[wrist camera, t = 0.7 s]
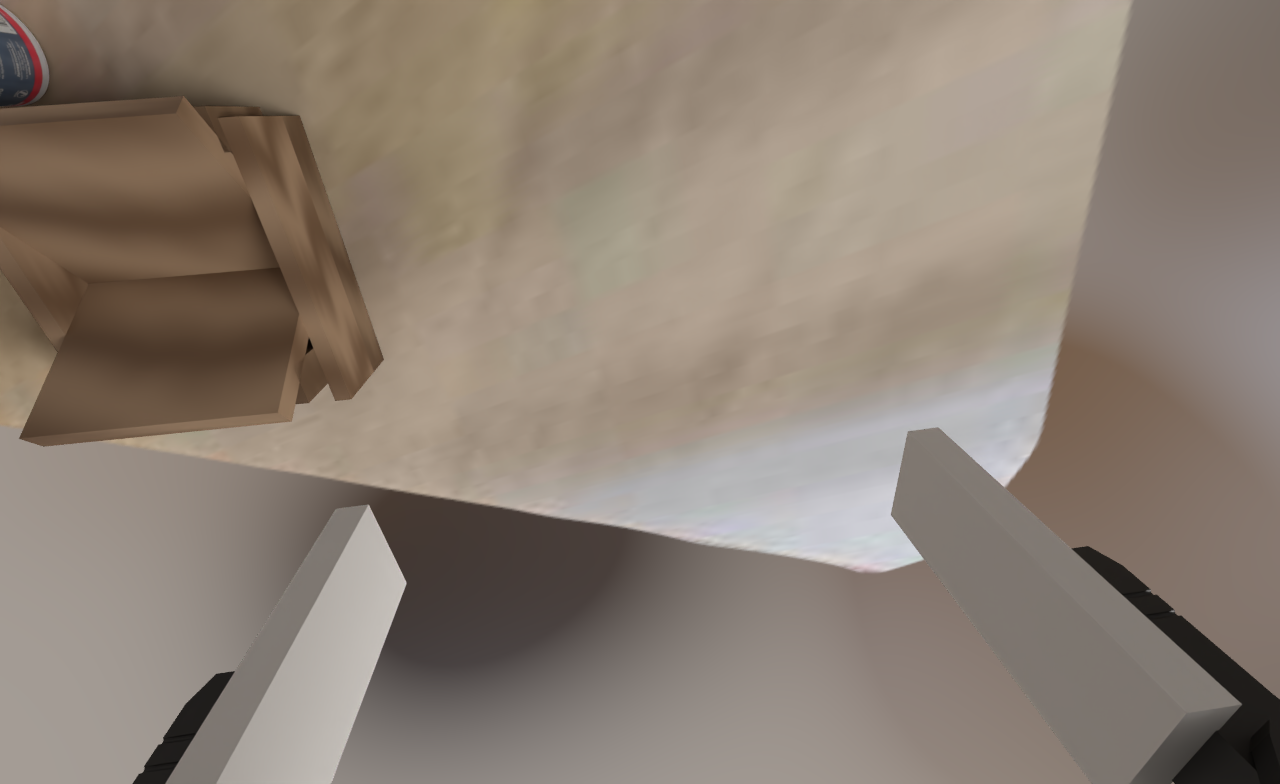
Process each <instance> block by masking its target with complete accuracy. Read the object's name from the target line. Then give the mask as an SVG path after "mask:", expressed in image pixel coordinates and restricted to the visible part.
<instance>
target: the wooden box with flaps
mask: <svg viewBox="0 0 1280 784" xmlns="http://www.w3.org/2000/svg"><path fill="white" fill-rule="evenodd" d="M0 269H1V271H2V272H3V273H4V275H5V276H6V278H7V279H8V281H9V282H10V284H11V285H12V287H13V288H14V289H15V291H16V292H17V294H18V295H19V297H20V298H21V300H22V301H23V302H24V304H25V305H26V307H27V308H28V310H29V311H30V313H31V314H32V316H33V317H34V318H35V320H36V321H37V323H38V324H39V326H40V327H41V329H42V330H43V331H44V333H45V334H46V336H47V337H48V339H49V340H50V342H51V343H52V345H53V346H54V347H55V349H56V350H57V352H58V353H57V355H56V358H55V360H54V362H53V364H52V367H51V369H50V371H49V373H48V375H47V378H46V380H45V382H44V384H43V387H42V389H41V391H40V393H39V395H38V398H37V400H36V402H35V404H34V407H33V409H32V411H31V413H30V415H29V418H28V420H27V422H26V424H25V427H24V429H23V431H22V433H21V436H20V439H22V440H25V441H28V442H31V443H35V444H37V445H41V446H53V445H64V444H73V443H83V442H93V441H103V440H113V439H123V438H133V437H142V436H152V435H162V434H172V433H182V432H192V431H202V430H212V429H221V428H231V427H241V426H251V425H261V424H271V423H281V422H291V421H292V418H293V413H294V408H295V404H303V403H309V402H310V401H311V400H312V399H313V398H314V397H315V396H316V395H317V394H318V393H319V392H320V391H321V390H322V389H323V388H324V387H325V386H326V385H327V384H329V387H330V389H331V392H332V394H333V396H334V399H335V401H339V400H349V399H352V398H353V397H354V395H355V394H356V393H357V392H358V390H359V389H360V388H361V387H362V386H363V384H364V383H365V382H366V381H367V379H368V378H369V377H370V376H371V375H372V373H373V372H374V371H375V370H376V368H377V367H378V366H379V365H380V364H381V362H382V361H383V360H384V359H383V356H382V353H381V350H380V347H379V344H378V341H377V338H376V336H375V333H374V330H373V327H372V324H371V321H370V318H369V315H368V312H367V309H366V307H365V304H364V301H363V298H362V295H361V292H360V289H359V286H358V283H357V281H356V278H355V275H354V272H353V269H352V266H351V263H350V260H349V257H348V254H347V252H346V249H345V246H344V243H343V240H342V237H341V234H340V231H339V228H338V226H337V223H336V220H335V217H334V214H333V211H332V208H331V205H330V202H329V199H328V197H327V194H326V191H325V188H324V185H323V182H322V179H321V176H320V173H319V171H318V168H317V165H316V162H315V159H314V156H313V153H312V150H311V147H310V144H309V142H308V139H307V136H306V133H305V130H304V127H303V124H302V121H301V118H300V116H263V115H262V112H261V110H260V107H234V106H197V107H192V105H191V104H190V103H189V102H188V101H187V99H186V98H185V97H184V96H176V97H161V98H147V99H132V100H118V101H103V102H89V103H74V104H60V105H45V106H30V107H16V108H1V109H0Z"/></svg>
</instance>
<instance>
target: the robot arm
mask: <svg viewBox="0 0 1280 784" xmlns="http://www.w3.org/2000/svg"><path fill="white" fill-rule="evenodd" d="M891 516H892V517H893V518H894V520H895V521H896V522H897V524H898V525H899V526H900V528H901V529H902V530H903V532H904V533H905V534H906V536H907V537H908V538H909V540H910V541H911V542H912V544H913V545H914V546H915V548H916V549H917V550H918V552H919V553H920V554H921V556H922V557H923V558H924V560H925V561H926V562H927V564H928V565H929V566H930V568H931V569H932V570H933V572H934V573H935V574H936V576H937V577H938V578H939V580H940V581H941V582H942V584H943V585H944V587H945V588H946V589H947V591H948V592H949V593H950V594H951V596H952V597H953V599H954V600H955V601H956V602H957V604H958V605H959V607H960V608H961V609H962V610H963V612H964V613H965V615H966V616H967V617H968V619H969V620H970V621H971V623H972V624H973V625H974V627H975V628H976V629H977V631H978V632H979V633H980V635H981V636H982V637H983V639H984V640H985V641H986V643H987V644H988V645H989V647H990V648H991V649H992V651H993V652H994V653H995V655H996V656H997V658H998V659H999V660H1000V662H1001V663H1002V664H1003V665H1004V667H1005V668H1006V670H1007V671H1008V672H1009V674H1010V675H1011V676H1012V677H1013V679H1014V680H1015V682H1016V683H1017V684H1018V685H1019V687H1020V688H1021V690H1022V691H1023V692H1024V694H1026V696H1027V698H1028V699H1029V700H1030V702H1031V703H1032V704H1033V706H1034V707H1035V708H1036V710H1037V711H1038V712H1039V714H1040V715H1041V716H1042V718H1043V719H1044V720H1045V722H1046V723H1047V724H1048V726H1049V727H1050V728H1051V730H1052V731H1053V733H1054V734H1055V735H1056V737H1057V738H1058V739H1059V741H1060V742H1061V743H1062V745H1063V746H1064V747H1065V748H1066V750H1067V751H1068V753H1069V754H1070V755H1071V756H1072V758H1073V759H1074V761H1075V762H1076V763H1077V765H1078V766H1079V767H1080V769H1081V770H1082V771H1083V772H1084V774H1085V775H1086V777H1087V778H1088V779H1089V781H1090V782H1091V783H1092V784H1171V783H1172V782H1174V783H1175V784H1280V699H1278V698H1277V697H1276V696H1275V695H1273V694H1272V693H1271V692H1270V691H1269V690H1267V689H1266V688H1265V687H1264V686H1263V685H1262V684H1260V683H1259V682H1258V681H1257V680H1256V679H1255V678H1253V677H1252V676H1251V675H1250V674H1249V673H1248V672H1246V671H1245V670H1244V669H1243V668H1242V667H1240V666H1239V665H1238V664H1237V663H1236V662H1235V661H1233V660H1232V659H1231V658H1230V657H1229V656H1228V655H1227V654H1225V653H1224V652H1223V651H1222V650H1221V649H1220V648H1218V647H1217V646H1216V645H1215V644H1214V643H1213V642H1211V641H1210V640H1209V639H1208V638H1207V637H1205V636H1204V635H1203V634H1202V633H1201V632H1200V631H1198V630H1197V629H1196V628H1195V627H1194V626H1193V625H1191V624H1190V623H1189V622H1188V621H1186V619H1184V618H1183V617H1182V616H1178V615H1176V614H1175V610H1174V609H1173V608H1171V607H1170V606H1169V605H1168V604H1167V603H1166V602H1165V601H1163V600H1162V599H1161V598H1160V597H1159V596H1158V595H1153V594H1152V593H1151V589H1149V588H1148V587H1147V586H1146V585H1145V584H1143V583H1142V582H1141V581H1140V580H1139V579H1138V578H1137V577H1135V576H1134V575H1133V574H1132V573H1131V572H1130V571H1128V570H1127V569H1126V568H1125V567H1124V566H1122V565H1121V564H1119V563H1117V562H1115V561H1114V560H1112V559H1110V558H1108V557H1107V556H1104V555H1103V554H1101V553H1099V552H1098V551H1096V550H1094V549H1092V548H1090V547H1088V546H1086V547H1079V548H1072V549H1071V548H1070V547H1069V546H1068V545H1067V544H1066V543H1064V542H1063V541H1062V540H1061V539H1060V538H1059V537H1058V536H1057V535H1056V534H1055V533H1053V532H1052V531H1051V530H1050V529H1049V528H1048V527H1047V526H1046V525H1045V524H1044V523H1043V522H1041V521H1040V520H1039V519H1038V518H1037V517H1036V516H1035V515H1034V514H1033V513H1032V512H1030V511H1029V510H1028V509H1027V508H1026V507H1025V506H1024V505H1023V504H1022V503H1021V502H1020V501H1018V500H1017V499H1016V498H1015V497H1014V496H1013V495H1012V494H1011V493H1010V492H1008V491H1007V490H1006V489H1005V488H1004V487H1003V486H1002V485H1001V484H1000V483H999V482H998V481H996V480H995V479H994V478H993V477H992V476H991V475H990V474H989V473H988V472H987V471H986V470H984V469H983V468H982V467H981V466H980V465H979V464H978V463H977V462H976V461H975V460H973V459H972V458H971V457H970V456H969V455H968V454H967V453H966V452H965V451H964V450H962V449H961V448H960V447H959V446H958V445H957V444H956V443H955V442H954V441H953V440H952V439H950V438H949V437H948V436H947V435H946V434H945V433H944V432H943V431H942V430H941V429H939V428H930V429H923V430H915V431H908V434H907V438H906V443H905V448H904V453H903V458H902V463H901V468H900V473H899V478H898V482H897V487H896V492H895V497H894V502H893V507H892V512H891ZM405 586H406V581H405V579H404V577H403V575H402V573H401V570H400V568H399V566H398V564H397V562H396V560H395V558H394V556H393V554H392V552H391V550H390V548H389V546H388V544H387V542H386V539H385V537H384V535H383V533H382V531H381V529H380V527H379V525H378V523H377V521H376V519H375V517H374V515H373V513H372V511H371V509H370V506H369V505H362V506H355V507H347V508H340V509H336V510H335V511H334V513H333V515H332V516H331V518H330V519H329V521H328V523H327V524H326V526H325V527H324V529H323V531H322V532H321V534H320V535H319V537H318V539H317V540H316V542H315V544H314V545H313V547H312V548H311V550H310V552H309V553H308V555H307V556H306V558H305V560H304V561H303V563H302V565H301V566H300V568H299V569H298V571H297V573H296V574H295V576H294V577H293V579H292V581H291V582H290V584H289V585H288V587H287V589H286V590H285V592H284V593H283V595H282V597H281V598H280V600H279V601H278V603H277V605H276V606H275V608H274V609H273V611H272V613H271V614H270V616H269V618H268V619H267V621H266V622H265V624H264V626H263V627H262V629H261V630H260V632H259V634H258V635H257V637H256V639H255V640H254V642H253V643H252V645H251V647H250V648H249V650H248V651H247V653H246V655H245V656H244V658H243V659H242V661H241V663H240V664H239V666H238V667H237V669H236V671H233V672H226V673H220V674H216V675H215V676H214V677H213V678H212V679H211V680H210V681H209V682H208V683H207V684H206V685H205V686H204V687H203V688H202V689H201V690H200V691H199V692H197V693H196V694H195V695H194V696H193V697H192V698H191V699H190V700H189V701H188V702H187V703H186V705H185V706H184V708H183V709H182V710H181V712H180V713H179V715H178V716H177V718H176V719H175V721H174V722H173V724H172V725H171V727H170V729H169V730H168V732H167V733H166V735H165V736H164V737H163V739H164V741H163V743H162V744H160V745H158V746H157V748H156V749H155V751H154V752H153V754H152V755H151V757H150V758H149V760H148V761H147V763H146V764H145V766H144V767H145V770H144V772H143V773H141V774H139V775H138V776H137V778H136V779H135V781H134V782H133V784H331V782H332V780H333V777H334V774H335V772H336V769H337V766H338V763H339V761H340V758H341V756H342V753H343V750H344V748H345V745H346V742H347V740H348V737H349V734H350V731H351V729H352V726H353V724H354V721H355V718H356V716H357V713H358V710H359V708H360V705H361V702H362V700H363V697H364V695H365V692H366V689H367V686H368V684H369V681H370V679H371V676H372V673H373V671H374V668H375V665H376V663H377V660H378V657H379V655H380V651H381V649H382V647H383V644H384V641H385V639H386V636H387V634H388V631H389V628H390V626H391V623H392V620H393V617H394V615H395V612H396V610H397V607H398V604H399V602H400V599H401V596H402V594H403V591H404V588H405Z"/></svg>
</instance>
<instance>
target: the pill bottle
mask: <svg viewBox="0 0 1280 784" xmlns="http://www.w3.org/2000/svg"><path fill="white" fill-rule="evenodd" d="M48 84H49V68H48V64H47V60H46V57H45V55H44V53H43V50H42V49H41V47H40V45H39V43H38V41H37V40H36V38H35V37H34V36H33V34H32V33H31V32H30V30H29V29H28V28H27V27H26V26H25V25H24V24H23V23H22V22H21V21H20V20H19V19H18V18H17V17H16V16H15V15H14V14H13V13H11V12H10V11H9V10H8V9H6V8H5V7H3V6H2V5H0V106H24V105H29V104H32V103H34V102H36V101H37V100H39V99H40V98H41V97H42V96H43V95H44V93H45V92H46V90H47V87H48Z"/></svg>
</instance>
